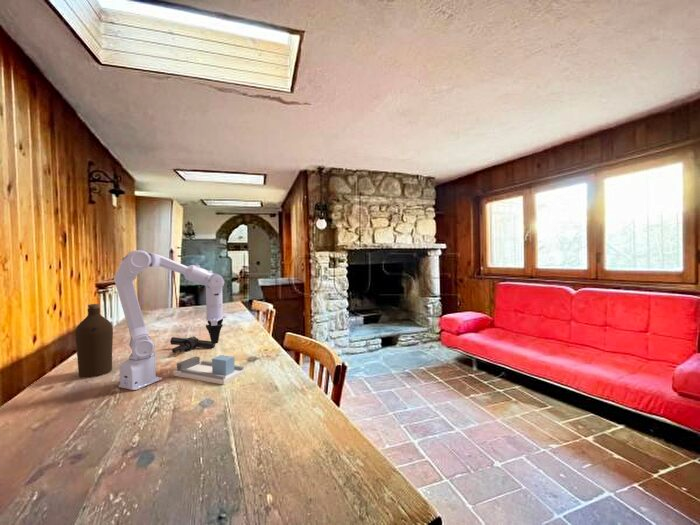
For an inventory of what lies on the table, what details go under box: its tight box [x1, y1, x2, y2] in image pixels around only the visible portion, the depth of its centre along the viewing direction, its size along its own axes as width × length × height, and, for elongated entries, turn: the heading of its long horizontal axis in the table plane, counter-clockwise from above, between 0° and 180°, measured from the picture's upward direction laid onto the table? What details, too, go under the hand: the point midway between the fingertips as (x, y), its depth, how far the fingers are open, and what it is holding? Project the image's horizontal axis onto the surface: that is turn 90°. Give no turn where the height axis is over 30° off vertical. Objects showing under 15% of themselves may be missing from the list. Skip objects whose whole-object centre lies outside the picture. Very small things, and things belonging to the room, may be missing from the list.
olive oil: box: [74, 303, 114, 378], centre depth 113 cm, size 11×11×25 cm
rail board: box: [172, 355, 246, 385], centre depth 110 cm, size 10×23×4 cm, turn 69°
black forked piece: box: [169, 336, 216, 354], centre depth 137 cm, size 5×20×15 cm
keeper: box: [211, 354, 235, 375], centre depth 108 cm, size 4×6×5 cm, turn 69°
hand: (215, 340), depth 118 cm, fingers open, 7 cm apart
